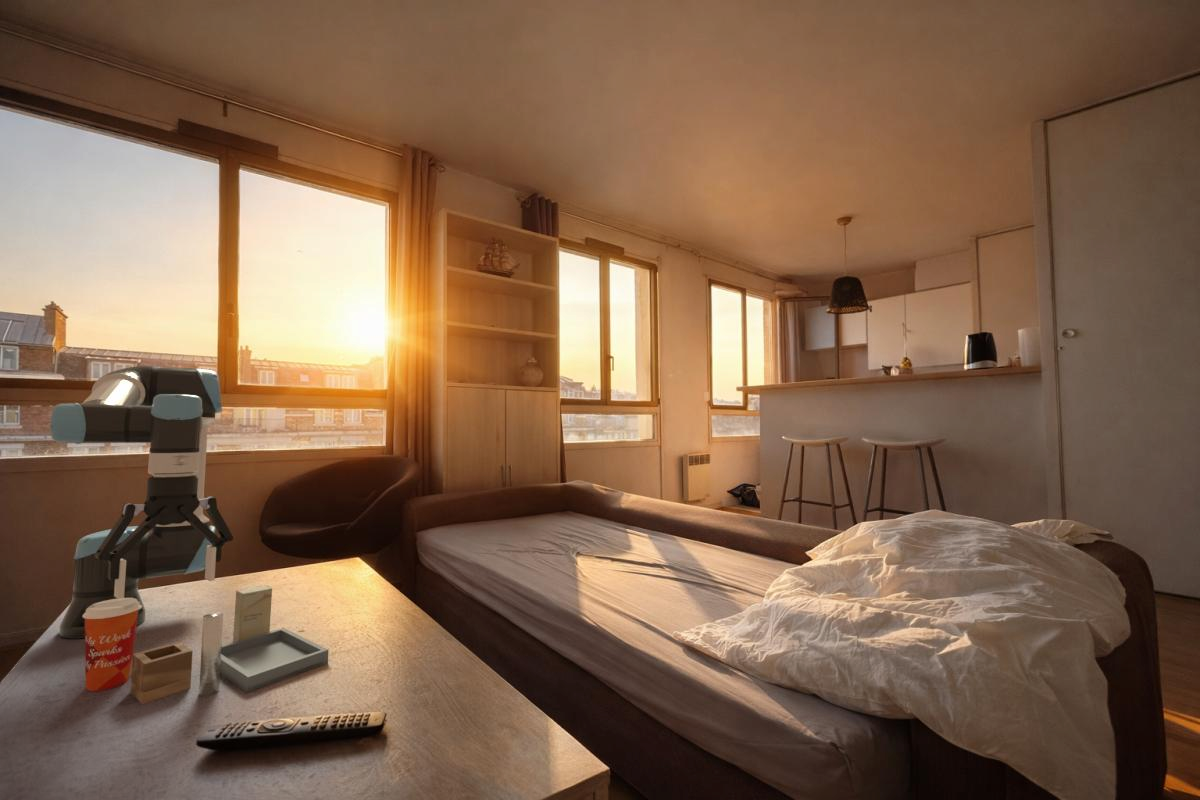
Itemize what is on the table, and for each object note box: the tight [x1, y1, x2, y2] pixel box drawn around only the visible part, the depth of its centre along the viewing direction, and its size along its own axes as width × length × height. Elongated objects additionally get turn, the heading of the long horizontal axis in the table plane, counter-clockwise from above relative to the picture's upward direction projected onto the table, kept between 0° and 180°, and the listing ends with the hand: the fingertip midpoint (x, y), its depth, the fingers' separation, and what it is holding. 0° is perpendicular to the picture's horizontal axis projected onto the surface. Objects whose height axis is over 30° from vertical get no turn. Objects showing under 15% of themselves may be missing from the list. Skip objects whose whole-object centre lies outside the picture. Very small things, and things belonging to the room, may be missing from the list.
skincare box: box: [232, 584, 273, 642], centre depth 118 cm, size 6×4×12 cm
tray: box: [220, 627, 329, 694], centre depth 108 cm, size 20×15×3 cm
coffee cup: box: [82, 598, 142, 692], centre depth 99 cm, size 8×8×15 cm
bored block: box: [130, 641, 193, 705], centre depth 97 cm, size 7×7×7 cm
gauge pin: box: [198, 611, 224, 697], centre depth 97 cm, size 3×3×14 cm
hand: (166, 588), depth 98 cm, fingers open, 13 cm apart
